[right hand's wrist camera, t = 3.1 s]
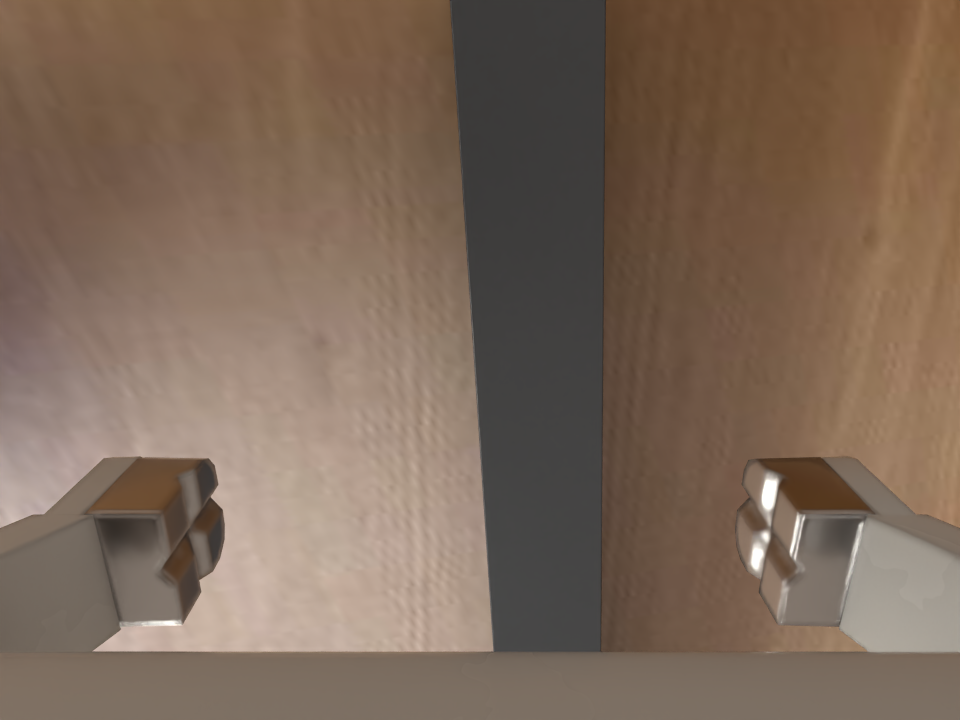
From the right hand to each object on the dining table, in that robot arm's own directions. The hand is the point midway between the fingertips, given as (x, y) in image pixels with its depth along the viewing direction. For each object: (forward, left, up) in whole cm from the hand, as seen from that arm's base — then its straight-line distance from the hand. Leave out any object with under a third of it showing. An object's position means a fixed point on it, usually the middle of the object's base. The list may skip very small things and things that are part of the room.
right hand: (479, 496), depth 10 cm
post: (+16, -5, -20) cm, 27 cm away
